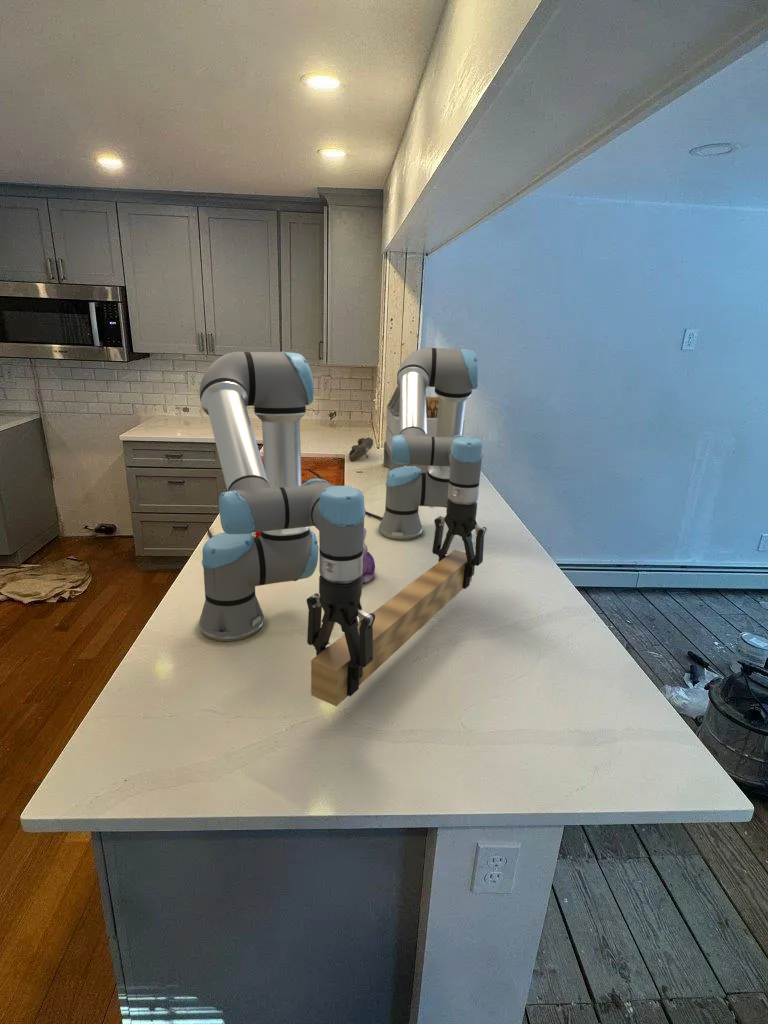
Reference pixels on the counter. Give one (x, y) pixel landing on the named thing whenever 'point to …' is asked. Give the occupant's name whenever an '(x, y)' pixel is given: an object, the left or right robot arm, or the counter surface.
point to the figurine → (367, 563)
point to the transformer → (393, 424)
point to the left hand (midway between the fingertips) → (338, 685)
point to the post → (390, 626)
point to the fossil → (360, 449)
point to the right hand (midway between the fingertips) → (454, 583)
